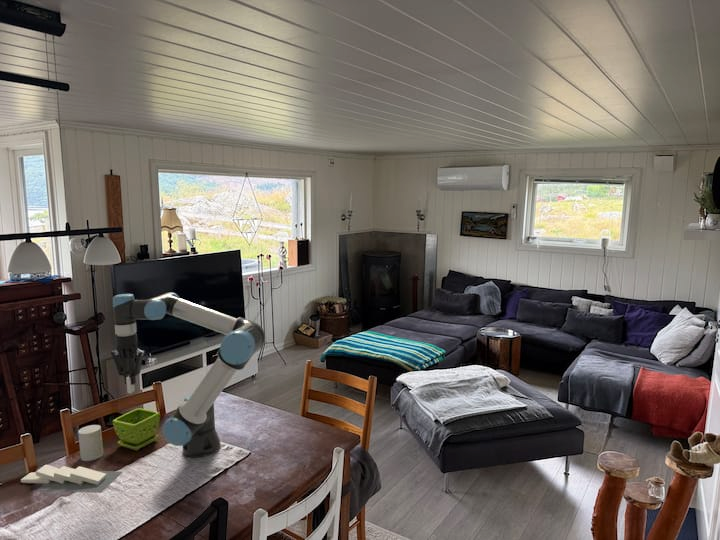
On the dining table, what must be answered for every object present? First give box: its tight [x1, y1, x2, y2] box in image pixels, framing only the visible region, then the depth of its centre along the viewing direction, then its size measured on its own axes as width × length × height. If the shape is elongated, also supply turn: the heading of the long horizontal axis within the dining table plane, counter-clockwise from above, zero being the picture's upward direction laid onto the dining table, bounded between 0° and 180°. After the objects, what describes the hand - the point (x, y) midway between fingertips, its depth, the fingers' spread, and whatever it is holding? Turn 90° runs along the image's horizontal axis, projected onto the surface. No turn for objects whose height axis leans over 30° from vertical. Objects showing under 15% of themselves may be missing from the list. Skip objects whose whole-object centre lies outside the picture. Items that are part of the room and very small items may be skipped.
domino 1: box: [20, 471, 52, 484], centre depth 185 cm, size 2×5×11 cm
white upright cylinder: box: [77, 424, 104, 462], centre depth 202 cm, size 8×8×12 cm
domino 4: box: [70, 466, 106, 485], centre depth 183 cm, size 2×5×11 cm
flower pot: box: [112, 407, 161, 451], centre depth 212 cm, size 14×14×13 cm
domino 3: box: [54, 465, 85, 484], centre depth 184 cm, size 2×5×11 cm
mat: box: [36, 470, 124, 494], centre depth 184 cm, size 25×14×1 cm, turn 85°
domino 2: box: [35, 464, 67, 484], centre depth 185 cm, size 2×5×11 cm
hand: (131, 392), depth 194 cm, fingers closed
